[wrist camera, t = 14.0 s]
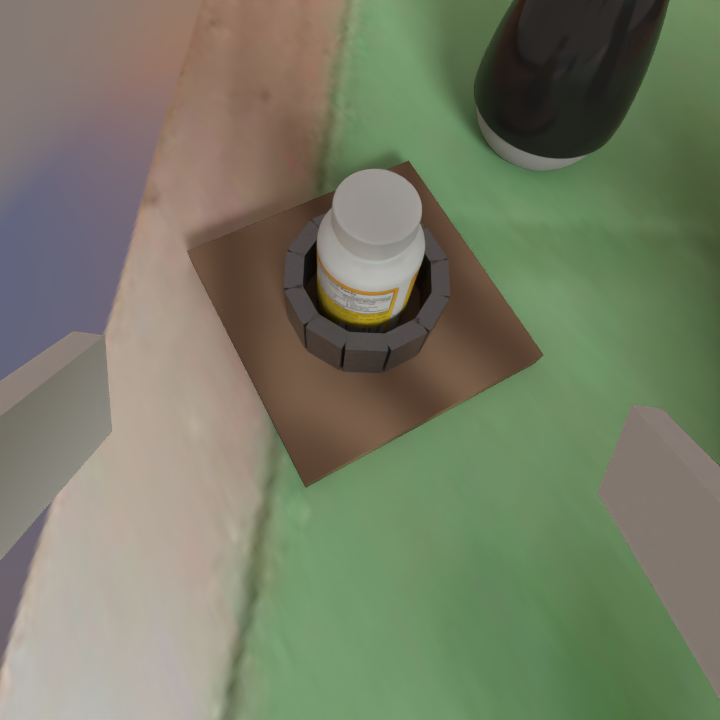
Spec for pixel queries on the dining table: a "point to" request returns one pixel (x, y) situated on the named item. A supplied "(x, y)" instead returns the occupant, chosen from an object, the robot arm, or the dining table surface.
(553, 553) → the dining table surface
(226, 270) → the board
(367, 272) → the supplement bottle
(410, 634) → the dining table surface
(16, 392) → the robot arm
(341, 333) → the collar
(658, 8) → the pump dispenser
